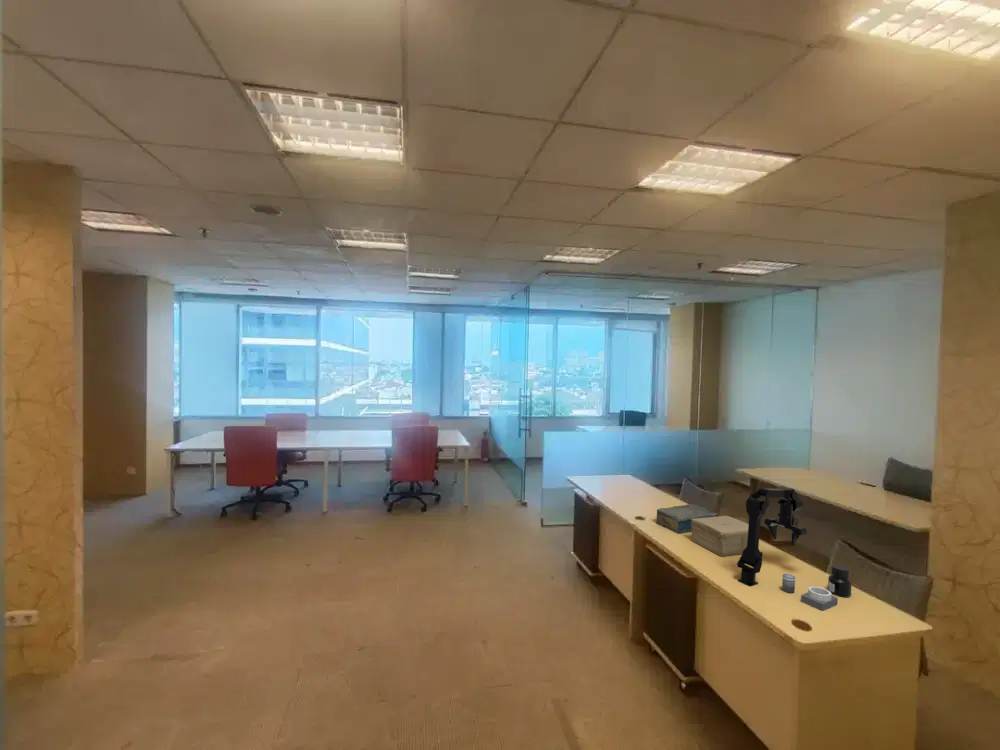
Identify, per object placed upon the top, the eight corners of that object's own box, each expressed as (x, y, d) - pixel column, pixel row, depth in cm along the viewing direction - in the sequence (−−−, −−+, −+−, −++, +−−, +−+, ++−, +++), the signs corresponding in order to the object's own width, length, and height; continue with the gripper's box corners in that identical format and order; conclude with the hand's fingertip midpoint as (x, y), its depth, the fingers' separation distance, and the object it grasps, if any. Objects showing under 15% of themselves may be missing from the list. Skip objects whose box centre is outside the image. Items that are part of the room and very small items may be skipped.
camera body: (822, 611, 211) (823, 598, 211) (800, 601, 219) (801, 589, 219) (837, 604, 217) (838, 592, 217) (815, 595, 225) (816, 583, 225)
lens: (790, 594, 225) (791, 579, 225) (779, 589, 230) (780, 574, 229) (797, 592, 228) (797, 577, 227) (785, 587, 232) (786, 572, 232)
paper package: (725, 536, 298) (726, 513, 297) (760, 553, 274) (761, 528, 273) (688, 540, 289) (689, 517, 289) (721, 558, 265) (722, 532, 264)
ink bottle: (829, 586, 235) (830, 561, 234) (851, 592, 229) (853, 567, 229) (826, 593, 227) (828, 568, 227) (849, 600, 222) (851, 573, 221)
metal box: (718, 528, 311) (719, 513, 311) (678, 535, 298) (679, 518, 298) (692, 518, 331) (693, 503, 330) (654, 523, 318) (655, 508, 317)
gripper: (814, 515, 245) (812, 546, 246) (777, 505, 261) (775, 534, 262) (801, 518, 239) (799, 550, 240) (764, 507, 256) (762, 537, 256)
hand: (784, 542), depth 250 cm, fingers open, 9 cm apart
